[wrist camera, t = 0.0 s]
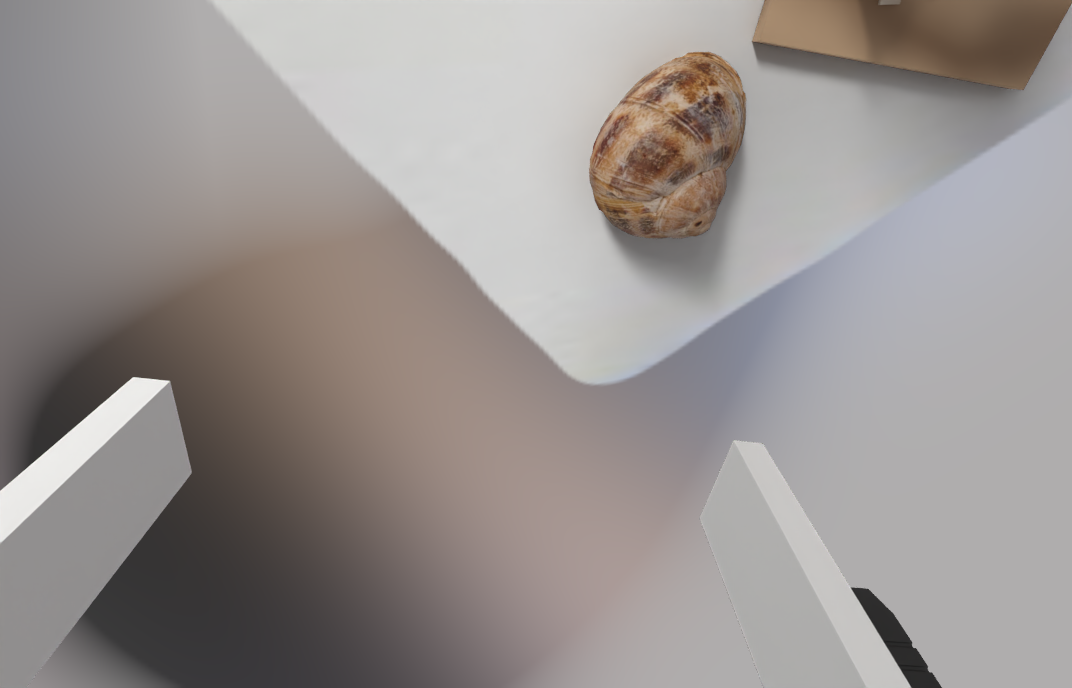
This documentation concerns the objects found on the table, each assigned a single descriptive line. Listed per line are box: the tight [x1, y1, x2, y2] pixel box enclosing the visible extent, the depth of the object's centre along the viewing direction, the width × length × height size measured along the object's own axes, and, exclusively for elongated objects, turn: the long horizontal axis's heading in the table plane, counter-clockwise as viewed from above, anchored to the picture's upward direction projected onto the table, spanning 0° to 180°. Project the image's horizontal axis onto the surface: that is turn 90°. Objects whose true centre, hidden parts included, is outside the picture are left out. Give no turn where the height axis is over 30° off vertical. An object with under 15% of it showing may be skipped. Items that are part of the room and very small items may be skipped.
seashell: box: [589, 52, 746, 238], centre depth 34 cm, size 10×9×10 cm
